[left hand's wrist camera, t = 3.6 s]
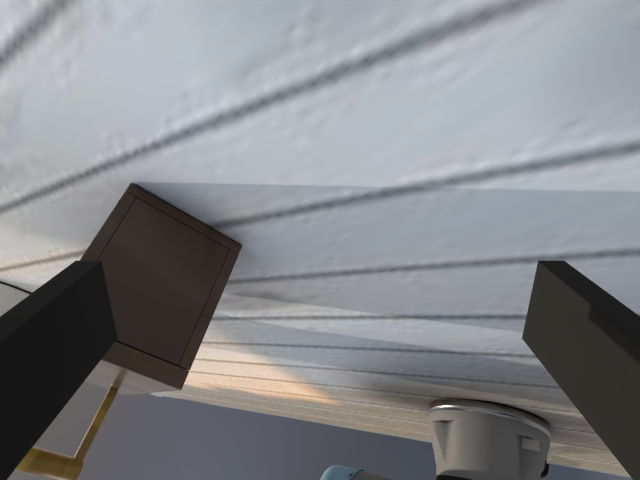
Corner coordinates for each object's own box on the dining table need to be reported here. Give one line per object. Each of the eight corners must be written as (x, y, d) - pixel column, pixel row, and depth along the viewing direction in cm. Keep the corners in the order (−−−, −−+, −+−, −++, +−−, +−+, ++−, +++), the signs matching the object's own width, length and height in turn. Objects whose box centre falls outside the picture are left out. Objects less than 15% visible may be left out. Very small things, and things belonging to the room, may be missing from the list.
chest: (178, 288, 45) (133, 381, 40) (94, 247, 41) (32, 343, 36) (242, 245, 33) (189, 370, 28) (131, 182, 29) (45, 312, 24)
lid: (131, 382, 41) (81, 484, 36) (31, 345, 37) (-39, 453, 32) (189, 371, 28) (123, 527, 23) (45, 312, 24) (-69, 485, 19)
